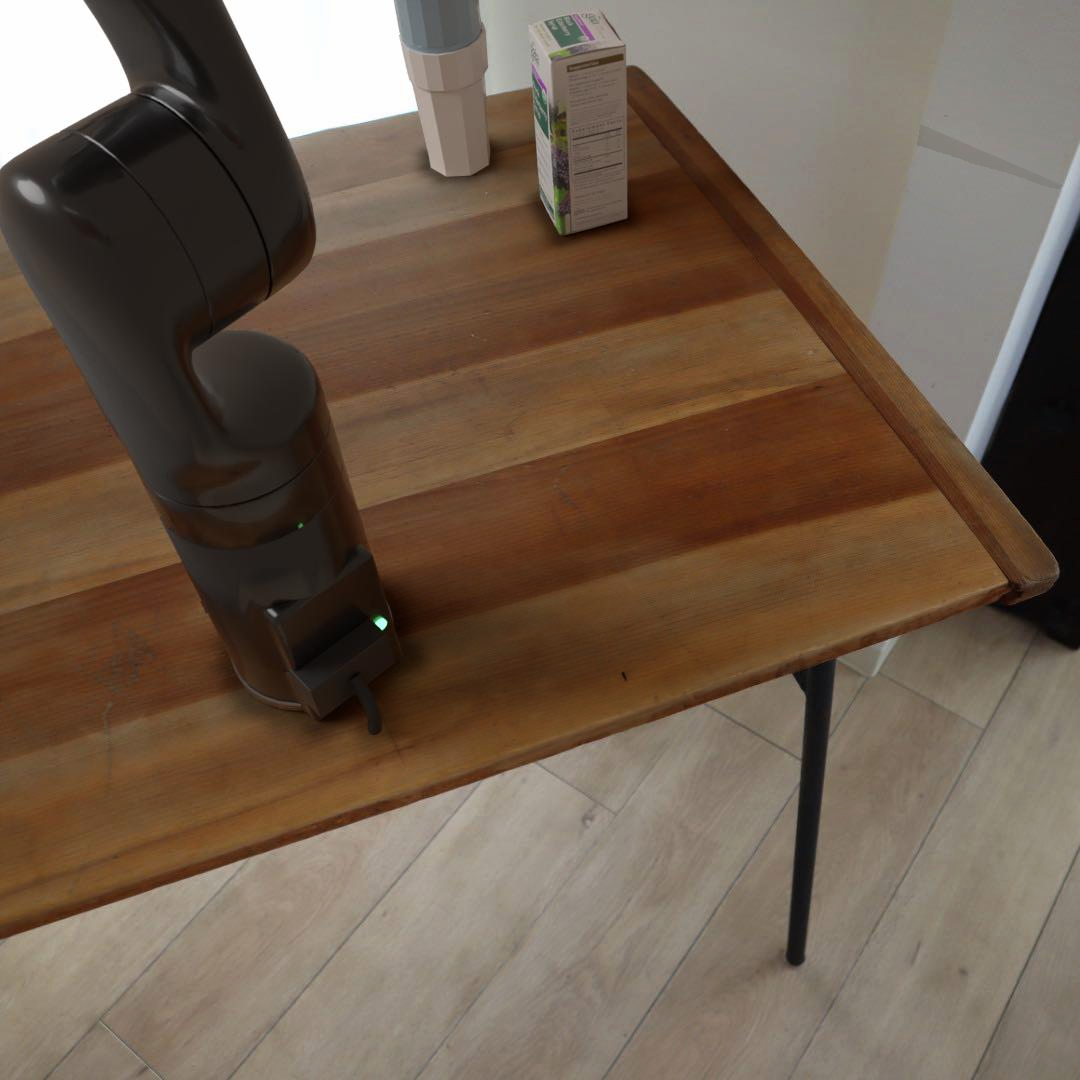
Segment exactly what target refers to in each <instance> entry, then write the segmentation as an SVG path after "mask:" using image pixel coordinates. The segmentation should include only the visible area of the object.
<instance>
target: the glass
mask: <svg viewBox="0 0 1080 1080" xmlns="http://www.w3.org/2000/svg"><path fill="white" fill-rule="evenodd" d="M393 4H394V10H395V15H396V22H397V26H398V32H399V35H400V34H401V40H402V42H403V43H404V44H405V45H406V46H407V47H408V48H410V49H412V50H415V51H418V52H423V53H444V52H450V51H454V50H457V49H460V48H463V47H465V46H467V45H469V44H471V43H472V42H473V41H475V40H476V39H477V38H478V36H479V35H480V33H481V21H482V15H481V7H480V6H481V5H480V0H393Z"/></svg>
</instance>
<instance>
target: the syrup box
mask: <svg viewBox="0 0 1080 1080" xmlns="http://www.w3.org/2000/svg"><path fill="white" fill-rule="evenodd" d="M528 41H529V53H530V67H531V68H530V71H531V85H532V101H533V103H532V104H533V116H534V132H535V143H536V144H535V145H536V159H537V160H536V161H537V173H538V184H539V197H540V200H541V202H542V203H543V205H544V207H545V210H546V212H547V214H548V216H549V217H550V220H551V221H552V223H553V226H554V227H555V228H556V231H557V232H558V234H559V235H560V236H566V235H571V234H575V233H579V232H581V231H586V230H590V229H594V228H598V227H601V226H605V225H608V224H613V223H615V222H619V221H624V220H627V219H628V207H629V206H628V134H627V133H628V100H627V99H628V95H627V94H628V93H627V92H628V91H627V90H628V88H627V87H628V86H627V84H628V81H627V79H628V78H627V44H626V43H625V41H624V40H622V38H621V37H620V35H619V33H618V32H617V29H615V27H614V26H613V24H612V23H611V22H610V20H609V19H608V18H607V17H606V15H605V14H604V12H603V11H602V10H600V9H597V10H587V11H577V12H569V13H565V14H560V15H557V16H552V17H548V18H545V19H542V20H539V21H536V22H534V23H530V24H529V25H528Z"/></svg>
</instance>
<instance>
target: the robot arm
mask: <svg viewBox="0 0 1080 1080" xmlns="http://www.w3.org/2000/svg"><path fill="white" fill-rule="evenodd" d="M82 1H83V2H84V4H85V5H86V7H87V8H88V9H89V11H90V13H91V14H92V16H93V17H94V19H95V20H96V22H97V24H98V25H99V27H100V28H101V30H102V33H104V35H105V37H106V38H107V40H108V42H109V43H110V45H111V47H112V49H113V51H114V53H115V55H116V57H117V59H118V61H119V63H120V65H121V67H122V70H123V72H124V74H125V77H126V79H127V82H128V85H129V89H130V92H129V93H127V94H126V95H123V96H121V97H119V98H117V99H116V100H114V101H112V102H111V103H110V102H109V104H106V105H104V106H103V107H101V108H100V109H98V110H96V111H94V112H92V113H91V114H89V115H87V116H85V117H83V118H81V119H79V120H78V121H75V122H74V123H72V124H70V125H68V126H67V127H65V128H63V129H61V130H60V131H59V132H56V133H54V134H52V135H50V136H48V137H47V138H45V139H43V140H41V141H40V142H38V143H35V144H34V145H33V146H31V147H29V148H27V149H26V150H24V151H22V152H21V153H19V154H18V155H16V156H14V157H13V158H12V159H10V160H9V161H7V162H6V163H5V164H4V165H3V166H1V168H0V231H1V234H2V236H3V238H4V240H5V242H6V244H7V247H8V249H9V252H10V254H11V256H12V257H13V259H14V261H15V263H16V265H17V267H18V269H19V270H20V272H21V274H22V276H23V277H24V279H25V282H26V283H27V285H28V287H29V288H30V291H32V293H33V295H34V297H35V299H36V300H37V301H38V303H39V305H40V306H41V308H42V309H43V311H44V313H45V314H46V316H47V318H48V319H49V321H50V323H51V324H52V326H53V327H54V329H55V331H56V333H57V334H58V336H59V338H60V339H61V341H62V343H63V344H64V346H65V348H66V350H67V351H68V353H69V354H70V356H71V358H72V360H73V362H74V364H75V365H76V367H77V369H78V370H79V372H80V374H81V376H82V378H83V380H84V381H85V383H86V385H87V387H88V389H89V391H90V393H91V396H92V397H93V399H94V401H95V402H96V404H97V406H98V408H99V409H100V412H101V413H102V415H103V416H104V417H105V420H106V421H107V423H108V424H109V425H110V427H111V428H112V430H113V433H114V434H115V435H116V437H117V439H118V440H119V442H120V443H121V445H122V447H123V448H124V450H125V452H126V453H127V455H128V457H129V459H130V461H131V463H132V465H133V467H134V469H135V471H136V473H137V474H138V477H139V479H140V481H141V483H142V485H143V487H144V489H145V491H146V493H147V495H148V497H149V500H150V501H151V503H152V504H153V507H154V509H155V511H156V513H157V515H158V517H159V519H160V521H161V524H162V526H163V527H164V529H165V531H166V534H167V535H168V537H169V539H170V542H171V544H172V546H173V547H174V549H175V551H176V553H177V555H178V557H179V559H180V561H181V563H182V565H183V567H184V570H185V571H186V573H187V576H188V577H189V578H190V581H191V583H192V586H193V587H194V589H195V592H196V593H197V595H198V597H199V599H200V604H201V607H202V608H203V610H204V612H205V614H206V615H208V617H209V619H210V621H211V623H212V625H213V627H214V629H215V631H216V633H217V635H218V637H219V638H220V640H221V642H222V644H223V646H224V648H225V650H226V651H227V654H228V655H229V657H230V661H231V665H232V667H233V670H234V672H235V674H236V676H237V678H238V679H239V682H240V683H241V685H242V686H243V687H244V689H245V690H246V691H247V692H248V693H249V694H250V695H251V696H253V697H254V698H255V699H257V700H259V701H260V702H262V703H264V704H266V705H268V706H271V707H274V708H277V709H281V710H287V711H298V712H300V711H301V712H304V713H306V714H308V716H309V717H310V718H312V720H314V721H316V722H319V721H321V720H322V719H324V718H325V717H327V716H328V715H330V713H332V712H333V711H334V710H336V709H337V708H338V707H340V706H341V705H343V704H344V703H345V702H346V701H348V700H349V699H350V698H352V697H353V696H357V698H358V699H359V701H360V703H361V705H362V707H363V709H364V712H365V715H366V719H367V732H368V733H369V735H372V736H378V735H379V734H380V733H382V727H383V726H382V721H383V716H382V713H381V710H380V707H379V704H378V701H377V700H376V698H375V696H374V694H373V693H372V691H371V689H370V687H369V685H370V684H371V682H373V681H374V680H375V679H376V678H378V677H379V676H380V675H382V674H384V673H385V672H386V671H387V670H388V669H390V668H391V667H392V666H394V665H395V664H396V663H398V662H399V661H400V660H401V659H402V658H403V651H402V648H401V645H400V641H399V637H398V634H397V631H396V628H395V622H394V617H393V613H392V610H391V607H390V604H389V602H388V600H387V597H386V594H385V591H384V587H383V584H382V580H381V577H380V573H379V571H378V568H377V564H376V561H375V557H374V555H373V553H372V550H371V547H370V544H369V540H368V536H367V533H366V531H365V526H364V524H363V521H362V518H361V517H362V516H361V514H360V511H359V507H358V503H357V501H356V498H355V497H356V496H355V493H354V490H353V487H352V484H351V480H350V477H349V473H348V470H347V467H346V464H345V460H344V456H343V453H342V449H341V446H340V442H339V439H338V435H337V431H336V429H335V426H334V423H333V418H332V416H331V413H330V409H329V406H328V403H327V402H328V401H327V399H326V396H325V392H324V389H323V385H322V382H321V379H320V376H319V375H318V372H317V370H316V368H315V367H314V365H313V363H312V362H311V361H310V359H309V358H308V357H307V355H306V354H305V353H304V352H303V351H302V350H301V349H300V348H298V347H297V346H296V345H294V344H293V343H291V342H289V341H288V340H285V339H284V338H282V337H280V336H277V335H275V334H272V333H269V332H264V331H261V330H254V329H247V328H245V329H244V328H228V327H229V326H231V325H232V324H234V323H235V322H236V321H238V320H239V319H241V318H242V317H244V316H245V315H247V314H248V313H250V312H251V311H253V310H254V309H255V308H257V307H258V306H260V305H261V304H262V303H264V302H265V301H267V300H268V299H270V298H271V297H273V296H274V295H276V294H277V293H278V292H279V291H281V290H282V289H284V288H285V287H287V285H289V284H290V283H291V282H292V281H294V280H295V279H296V278H297V277H299V275H300V274H302V272H304V270H305V269H306V268H307V267H308V266H309V264H310V263H311V261H312V258H313V256H314V253H315V249H316V244H317V224H316V219H315V212H314V207H313V206H314V205H313V202H312V198H311V195H310V192H309V188H308V185H307V182H306V178H305V176H304V174H303V171H302V167H301V165H300V163H299V160H298V158H297V155H296V153H295V151H294V148H293V145H292V144H291V141H290V139H289V137H288V134H287V132H286V130H285V128H284V126H283V123H282V121H281V120H280V117H279V114H277V111H276V108H275V106H274V105H273V102H272V100H271V98H270V96H269V94H268V91H267V89H266V87H265V85H264V83H263V81H262V79H261V77H260V75H259V73H258V70H257V69H256V67H255V64H254V62H253V59H252V57H250V54H249V52H248V50H247V48H246V45H245V44H244V42H243V40H242V37H241V35H240V33H239V31H238V29H237V27H236V25H235V23H234V20H233V18H232V17H231V14H230V12H229V10H228V8H227V6H226V4H225V2H224V0H82Z"/></svg>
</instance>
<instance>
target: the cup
mask: <svg viewBox="0 0 1080 1080" xmlns="http://www.w3.org/2000/svg"><path fill="white" fill-rule="evenodd" d="M486 30H487V29H486V27H485V24H484V22H483V21H482V20H481V33H480V35H479V36H478V38H477V39H476V40H475V41H473V42H472V43H471V44H469V45H467V46H465V47H463V48H460V49H457V50H454V51H450V52H444V53H423V52H418V51H415V50H412V49H410V48H408V47H407V46H406V45H405V44H404V43H403V42H402V40H401V34H400V33H399V34H398V37H399V42H400V46H401V51H402V55H403V59H404V65H405V69H406V74H407V76H408V81H410V83H411V86H412V89H413V94H414V98H415V103H416V107H417V111H418V117H419V120H420V124H421V127H422V128H421V129H422V133H423V137H424V141H425V145H426V150H427V155H428V160H429V165H430V168H431V169H432V170H434V171H436V172H438V173H439V174H441V175H442V176H444V177H445V178H449V177H450V178H451V177H468V176H469V177H470V176H472V175H474V174H476V173H478V172H479V171H481V170H483V169H484V168H486V167H488V166H490V158H491V157H490V156H491V146H490V145H491V144H490V133H489V118H488V105H487V102H488V101H487V88H486V87H487V86H486V72H487V70H488V69H489V58H488V56H489V55H488V45H487V44H488V43H487V31H486Z"/></svg>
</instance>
